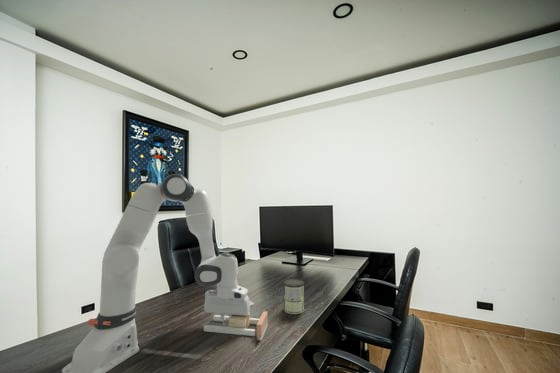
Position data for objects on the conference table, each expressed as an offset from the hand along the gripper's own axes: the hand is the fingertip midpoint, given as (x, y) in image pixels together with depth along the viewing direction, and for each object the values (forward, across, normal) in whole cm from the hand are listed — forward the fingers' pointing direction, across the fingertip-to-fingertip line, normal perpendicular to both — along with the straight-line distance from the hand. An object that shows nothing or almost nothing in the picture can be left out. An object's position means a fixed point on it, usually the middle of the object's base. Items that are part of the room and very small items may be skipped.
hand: (226, 323), depth 103 cm
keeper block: (+1, +6, 0) cm, 6 cm away
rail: (+2, +4, 0) cm, 5 cm away
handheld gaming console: (+3, -3, +24) cm, 24 cm away
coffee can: (+2, +27, +24) cm, 36 cm away
